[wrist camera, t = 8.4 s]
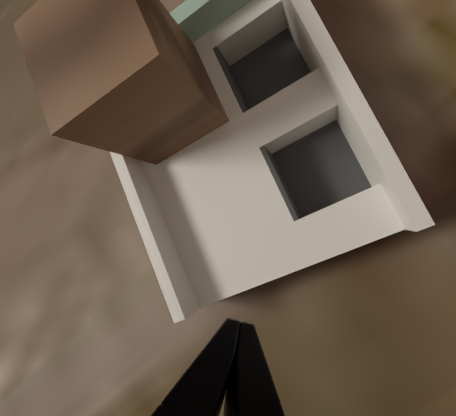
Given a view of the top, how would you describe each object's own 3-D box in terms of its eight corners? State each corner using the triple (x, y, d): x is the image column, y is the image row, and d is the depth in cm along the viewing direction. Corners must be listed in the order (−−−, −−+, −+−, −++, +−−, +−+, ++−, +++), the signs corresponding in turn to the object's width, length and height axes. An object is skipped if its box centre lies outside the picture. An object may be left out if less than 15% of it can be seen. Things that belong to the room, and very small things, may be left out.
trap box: (405, 221, 17) (435, 224, 12) (207, 299, 21) (174, 323, 17) (285, -2, 20) (272, -69, 15) (130, 107, 24) (83, 81, 19)
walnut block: (229, 121, 18) (159, 54, 10) (156, 164, 20) (51, 134, 12) (194, 45, 19) (106, -67, 11) (127, 93, 21) (13, 24, 13)
